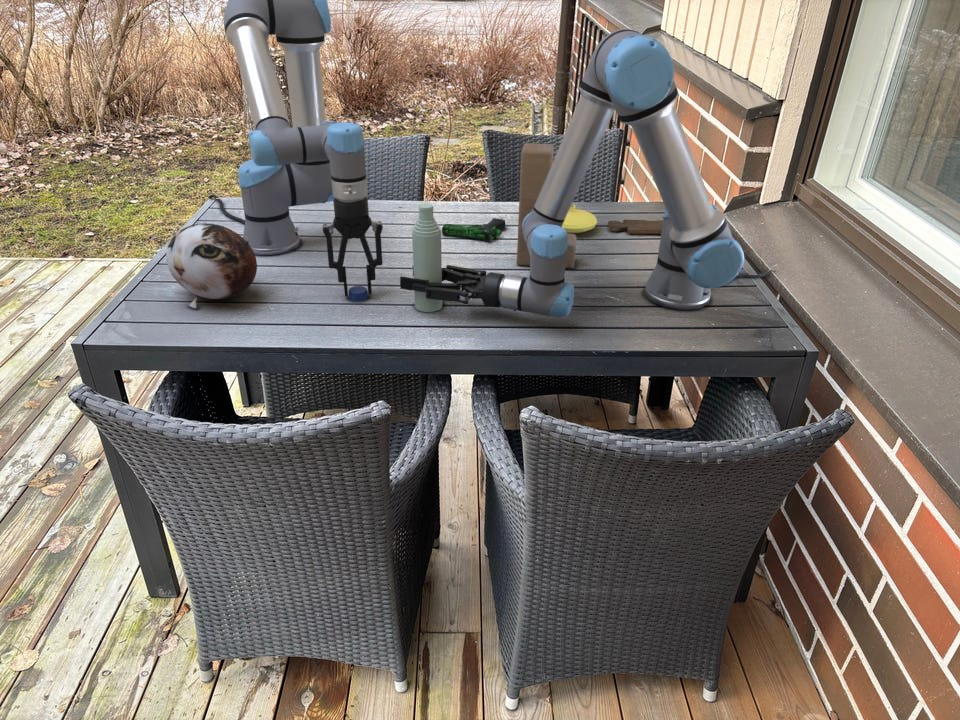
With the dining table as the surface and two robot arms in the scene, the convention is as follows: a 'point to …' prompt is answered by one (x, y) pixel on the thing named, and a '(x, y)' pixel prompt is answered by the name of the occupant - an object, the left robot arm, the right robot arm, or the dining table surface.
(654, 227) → the wooden paddle board
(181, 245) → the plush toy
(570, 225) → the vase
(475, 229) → the handgun
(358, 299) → the cap
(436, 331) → the dining table surface
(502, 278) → the right robot arm
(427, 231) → the bottle
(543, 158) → the decorative block
